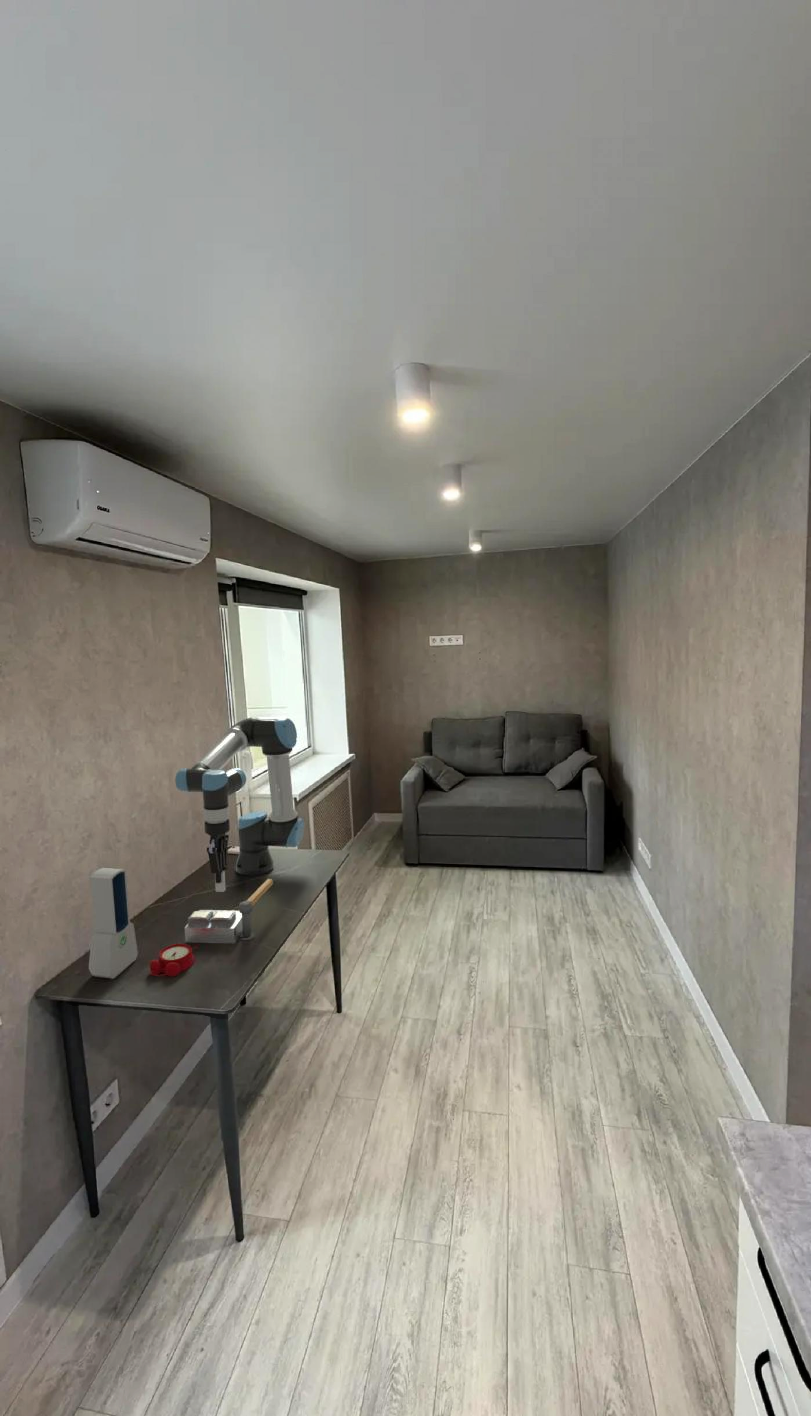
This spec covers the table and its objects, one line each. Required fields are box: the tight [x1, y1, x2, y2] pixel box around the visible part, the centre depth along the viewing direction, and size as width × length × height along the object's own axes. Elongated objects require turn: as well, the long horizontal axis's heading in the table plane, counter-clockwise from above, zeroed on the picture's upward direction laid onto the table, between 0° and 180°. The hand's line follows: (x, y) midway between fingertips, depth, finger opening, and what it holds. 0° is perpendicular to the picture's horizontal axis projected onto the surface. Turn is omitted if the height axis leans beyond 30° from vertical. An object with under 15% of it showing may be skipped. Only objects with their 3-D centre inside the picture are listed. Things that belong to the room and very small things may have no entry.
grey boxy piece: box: [184, 909, 256, 945], centre depth 197 cm, size 12×21×7 cm, turn 86°
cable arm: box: [238, 878, 274, 937], centre depth 203 cm, size 22×4×11 cm, turn 170°
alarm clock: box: [149, 943, 198, 978], centre depth 178 cm, size 10×6×15 cm
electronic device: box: [88, 867, 139, 980], centre depth 176 cm, size 12×8×30 cm, turn 168°
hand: (220, 890), depth 194 cm, fingers closed
